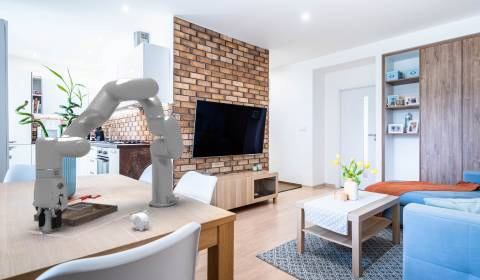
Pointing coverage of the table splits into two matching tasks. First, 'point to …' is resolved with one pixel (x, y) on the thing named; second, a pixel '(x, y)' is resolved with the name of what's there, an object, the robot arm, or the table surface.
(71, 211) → the metal socket
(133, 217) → the elephant figurine
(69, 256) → the table surface
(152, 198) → the robot arm
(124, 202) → the table surface
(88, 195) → the cloth
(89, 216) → the walnut box
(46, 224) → the rook chess piece
